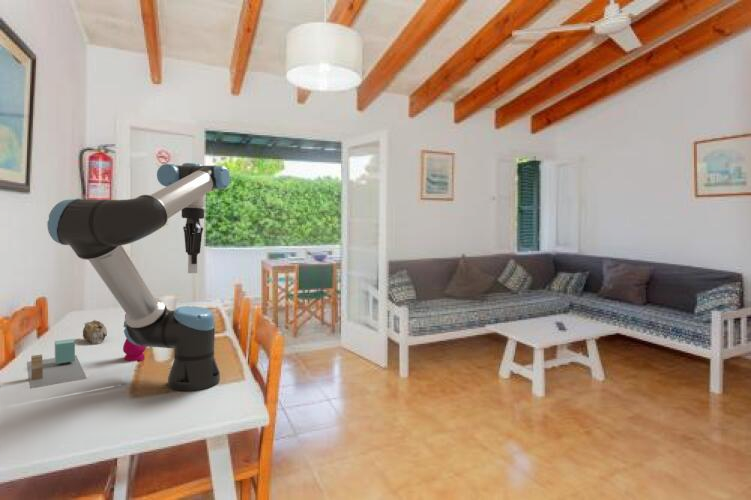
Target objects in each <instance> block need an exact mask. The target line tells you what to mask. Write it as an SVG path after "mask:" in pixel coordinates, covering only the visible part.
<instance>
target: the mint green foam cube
mask: <svg viewBox="0 0 751 500" xmlns="http://www.w3.org/2000/svg"><path fill="white" fill-rule="evenodd" d="M75 343H76V342H75V340H74V339H73V338H71V339H68V338H67V339H61V340H55V341H54V358H55V362H56V364H59V363H65V362H72V361H75V355H76V349H75V348H76V347H75V346H76V345H75Z"/></svg>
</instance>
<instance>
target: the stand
mask: <svg viewBox="0 0 751 500" xmlns="http://www.w3.org/2000/svg"><path fill="white" fill-rule="evenodd" d="M26 364H27V365H26V366H27V374H28V375H27V376H28V383H29V384H28V385H29V389H36V388H41V387H46V386H53V385H59V384H63V383H64V384H65V383H68V382H76V381H82V380H86V379H88V377H87V376H86V373H85V371H84V368H83V367H82V365H81V362H80V361H79V358H78V356H77V354H75V361H72V362H70V364H65V365H61V364H60V363H59V364H56V362H55V357H54V358H53V357H52V358H45V359H42V369H43V379H37V380H32V368H31V360H30V361H27V362H26Z"/></svg>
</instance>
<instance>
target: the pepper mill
mask: <svg viewBox="0 0 751 500" xmlns="http://www.w3.org/2000/svg"><path fill="white" fill-rule="evenodd" d="M125 316H126V313H125V315H124V317H125ZM146 349H147V347H144V346H139V345H135V344H133V343H131V342H130V341H129V340H128V339H127V338H126V339H125V341H124V344H123V346H122V352H123V353H124V354H125V355H124V361H127V362H137V363H138V362H142V361H144V360H145V353H144V351H146Z"/></svg>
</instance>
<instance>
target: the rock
mask: <svg viewBox="0 0 751 500" xmlns="http://www.w3.org/2000/svg"><path fill="white" fill-rule="evenodd" d="M107 335H108V330H107V327H106V326H105V324H104V323H102V322H101V321H99V320H96V319H94V320H92V321H90V322H89V321H87V322H85V323H84V328H83V329H82V337H83V340H85V341H88V342H91V344H92V345H98V344H101V343H103V342H104V341H105V339H106V337H107Z"/></svg>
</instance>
